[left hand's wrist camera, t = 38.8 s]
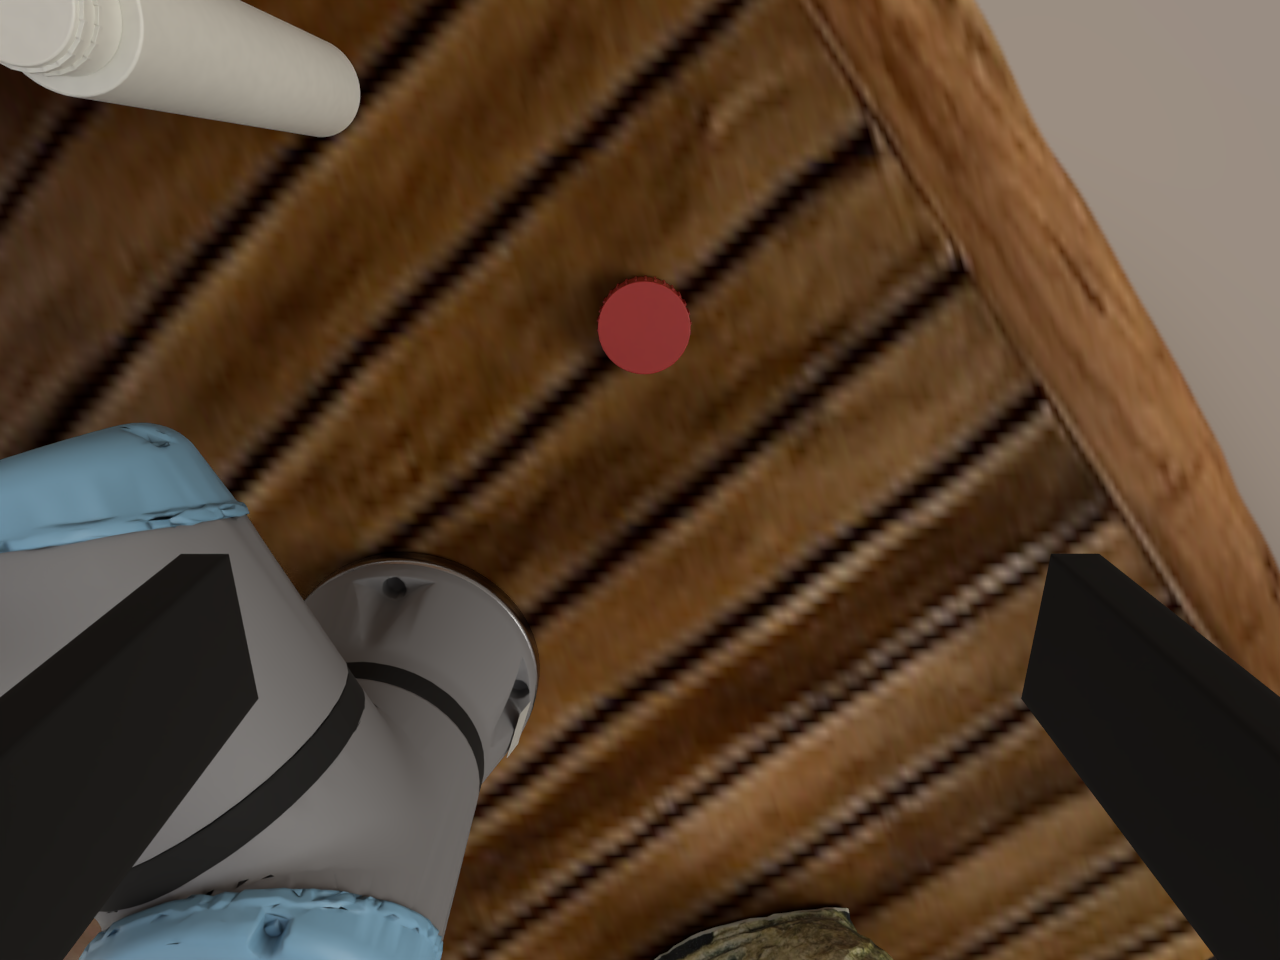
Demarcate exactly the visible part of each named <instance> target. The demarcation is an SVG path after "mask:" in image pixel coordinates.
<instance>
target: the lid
mask: <svg viewBox="0 0 1280 960" xmlns="http://www.w3.org/2000/svg"><path fill="white" fill-rule="evenodd" d="M603 303H604V304H603V306H601V307H600V310H599V312H600V315H599V316H598V319H597V322H598V328H597V332H598V335H599V341H600V343H601V346H602V349H603V350H604V352H605V353H606V355H607V356H608V358H609V359H610V360H611V361H612V362H613V363H615V364H616V365H617V366H619V367H620V368H622V369H624V370H626V371H629V372H632V373H636V374H652V373H656V372H660V371H662V370H664V369H666V368H668V367H670V366H671V365H672V364H674V363H675V362H676V361H677V360H678V359H679V358H680V356H681V355H682V354H683V352H684V350H685V348H686V346H687V344H688V343H689V342H688V341H689V337H690V334H691V331H690V325H691V321H690V318H689V315H690V313H689V310H688V308H687V309H686V302H685V300H682V298H681V295H680V292H679V291H678V292H677V291H676V290H675V289H674V287H673V285H671V286H670V285H669V284H667V283H666V282H665V280H663V281H661V280H659V279H656V277H654V278H652V277H646V275H644V277H637V276H635V278H632V279H629V280H628V279H625V281H624V282H623V283H621V284H619V283H618V284H617V286H616V287H615V288H614V289H613V290H610V292H609V295H608V296H607V298H606V297H605V298H604V301H603Z"/></svg>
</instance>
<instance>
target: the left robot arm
mask: <svg viewBox="0 0 1280 960" xmlns="http://www.w3.org/2000/svg"><path fill="white" fill-rule="evenodd" d="M246 514H249V511H248V508H247V506H246V505H245V504H244V503H243V502H238V501H236V500H235V498H234V497H233V496H232V494H231V493H230V492H229V490H228V489H227V488H226V487H225V485H224V484H223V483H222V481H221V480H220V479H219V477H218V476H217V475H216V474H215V472H214V471H213V470H212V468H211V467H210V466H209V464H208V463H207V462H206V460H205V459H204V458H203V457H202V455H201V454H200V453H199V451H198V450H197V449H196V447H195V446H194V445H193V444H192V443H191V442H190V441H189V440H188V439H187V438H186V437H184V436H183V435H182V434H180V433H179V432H177V431H175V430H173V429H171V428H168V427H165V426H162V425H158V424H152V423H130V424H123V425H118V426H114V427H110V428H106V429H102V430H99V431H95V432H91V433H88V434H84V435H81V436H77V437H74V438H70V439H66V440H63V441H60V442H56V443H53V444H50V445H47V446H43V447H40V448H37V449H33V450H30V451H27V452H24V453H20V454H17V455H14V456H11V457H8V458H4V459H1V460H0V960H63V959H64V957H65V956H66V955H67V953H68V952H69V951H70V949H71V948H72V947H73V945H74V944H75V943H76V941H77V940H78V939H79V937H80V936H81V935H82V933H83V932H84V931H85V929H86V928H87V927H88V925H89V924H90V923H91V921H92V920H93V919H94V918H95V919H96V920H97V921H98V923H99V924H100V926H101V929H102V932H100V933H98V935H97V936H96V937H95V938H94V939H93V940H92V941H91V942H90V943H89V944H88V945H87V947H86V948H85V950H84V952H83V953H82V955H81V956H80V958H79V960H440V959H441V955H442V950H443V938H444V934H445V929H446V925H447V921H448V917H449V913H450V909H451V905H452V901H453V897H454V893H455V889H456V885H457V881H458V877H459V873H460V869H461V865H462V861H463V857H464V853H465V848H466V844H467V840H468V836H469V832H470V828H471V824H472V820H473V816H474V812H475V808H476V804H477V799H478V795H479V792H480V788H481V784H482V783H483V782H484V780H485V779H486V778H487V777H488V776H489V774H490V773H491V772H492V771H493V769H494V768H495V767H496V766H497V764H498V763H499V762H500V761H501V759H502V758H503V757H504V756H505V754H506V753H507V752H508V751H509V752H508V756H509V755H510V753H511V752H512V751H513V749H514V748H515V747H516V746H517V744H518V741H519V738H520V735H521V733H522V731H523V729H524V727H525V725H526V723H527V721H528V719H529V717H530V714H531V712H532V709H533V706H534V702H535V698H536V693H537V688H538V682H539V670H540V664H539V655H538V650H537V645H536V642H535V639H534V636H533V633H532V631H531V629H530V626H529V624H528V623H527V621H526V619H525V617H524V616H523V614H522V613H521V611H520V610H519V608H518V607H517V606H516V604H515V603H514V602H513V601H512V600H511V599H510V598H509V597H508V596H507V595H506V594H505V593H504V592H503V591H502V590H501V589H500V588H499V587H498V586H496V585H495V584H494V583H493V582H491V581H490V580H489V579H487V578H485V577H484V576H482V575H481V574H479V573H478V572H476V571H474V570H472V569H470V568H468V567H466V566H464V565H461V564H459V563H456V562H454V561H451V560H447V559H444V558H441V557H436V556H432V555H426V554H419V553H388V554H380V555H375V556H371V557H367V558H364V559H360V560H357V561H355V562H352V563H350V564H348V565H345V566H344V567H342V568H340V569H338V570H337V571H335V572H333V573H332V574H331V575H329V576H328V577H326V578H325V579H324V580H323V581H322V582H321V583H320V584H319V585H317V587H316V588H315V589H314V590H313V591H312V592H311V593H310V595H309V596H308V597H307V598H306V599H305V601H304V600H303V599H302V597H301V596H300V594H299V593H298V591H297V590H296V588H295V587H294V585H293V584H292V582H291V581H290V580H289V578H288V577H287V575H286V574H285V572H284V571H283V569H282V568H281V566H280V565H279V563H278V562H277V560H276V559H275V557H274V556H273V554H272V553H271V552H270V550H269V549H268V547H267V546H266V544H265V543H264V541H263V540H262V538H261V537H260V535H259V534H258V532H257V531H256V529H255V527H254V526H253V524H252V523H251V521H250V520H249V518H248V517H247V515H246ZM1021 699H1022V700H1023V701H1024V703H1025V704H1026V705H1027V707H1028V708H1029V709H1030V711H1031V712H1032V713H1033V715H1034V716H1035V717H1036V719H1037V720H1038V721H1039V723H1040V724H1041V725H1042V727H1043V728H1044V729H1045V731H1046V732H1047V733H1048V735H1049V736H1050V737H1051V739H1052V740H1053V741H1054V743H1055V744H1056V745H1057V747H1058V748H1059V749H1060V751H1061V752H1062V753H1063V755H1064V756H1065V757H1066V759H1067V760H1068V761H1069V763H1070V764H1071V765H1072V767H1073V768H1074V769H1075V771H1076V772H1077V773H1078V775H1079V776H1080V777H1081V779H1082V780H1083V781H1084V783H1085V784H1086V785H1087V787H1088V788H1089V789H1090V791H1091V792H1092V793H1093V795H1094V796H1095V797H1096V799H1097V800H1098V801H1099V803H1100V804H1101V805H1102V807H1103V808H1104V809H1105V811H1106V812H1107V813H1108V815H1109V816H1110V817H1111V819H1112V820H1113V821H1114V823H1115V824H1116V825H1117V827H1118V828H1119V829H1120V831H1121V832H1122V833H1123V835H1124V836H1125V837H1126V839H1127V840H1128V841H1129V843H1130V844H1131V845H1132V847H1133V848H1134V849H1135V851H1136V852H1137V853H1138V855H1139V856H1140V857H1141V859H1142V860H1143V861H1144V863H1145V864H1146V865H1147V867H1148V868H1149V869H1150V871H1151V872H1152V873H1153V875H1154V876H1155V877H1156V879H1157V880H1158V881H1159V883H1160V884H1161V885H1162V887H1163V888H1164V889H1165V891H1166V892H1167V893H1168V895H1169V896H1170V897H1171V899H1172V900H1173V901H1174V903H1175V904H1176V905H1177V907H1178V908H1179V909H1180V911H1181V912H1182V913H1183V915H1184V916H1185V917H1186V919H1187V920H1188V921H1189V923H1190V924H1191V925H1192V927H1193V928H1194V929H1195V931H1196V932H1197V933H1198V935H1199V936H1200V937H1201V939H1202V940H1203V941H1204V943H1205V944H1206V945H1207V947H1208V948H1209V949H1210V951H1211V952H1212V953H1213V955H1214V956H1215V957H1216V959H1217V960H1280V697H1279V696H1278V695H1277V694H1275V693H1274V692H1273V691H1271V690H1270V689H1269V688H1268V687H1266V686H1265V685H1264V684H1263V683H1261V682H1260V681H1259V680H1258V679H1256V678H1255V677H1254V676H1253V675H1251V674H1250V673H1249V672H1248V671H1246V670H1245V669H1244V668H1242V667H1241V666H1240V665H1239V664H1237V663H1236V662H1235V661H1234V660H1232V659H1231V658H1230V657H1229V656H1227V655H1226V654H1225V653H1224V652H1222V651H1221V650H1220V649H1219V648H1217V647H1216V646H1215V645H1213V644H1212V643H1211V642H1210V641H1208V640H1207V639H1206V638H1205V637H1203V636H1202V635H1201V634H1200V633H1198V632H1197V631H1196V630H1195V629H1193V628H1192V627H1191V626H1190V625H1188V624H1187V623H1186V622H1184V621H1183V620H1182V619H1181V618H1179V617H1178V616H1177V615H1176V614H1174V613H1173V612H1172V611H1171V610H1169V609H1168V608H1167V607H1166V606H1164V605H1163V604H1162V603H1161V602H1159V601H1158V600H1157V599H1155V598H1154V597H1153V596H1152V595H1150V594H1149V593H1148V592H1147V591H1145V590H1144V589H1143V588H1142V587H1140V586H1139V585H1138V584H1137V583H1135V582H1134V581H1133V580H1132V579H1130V578H1129V577H1128V576H1126V575H1125V574H1124V573H1123V572H1121V571H1120V570H1119V569H1118V568H1116V567H1115V566H1114V565H1113V564H1111V563H1110V562H1109V561H1108V560H1106V559H1105V558H1104V557H1102V556H1101V555H1100V554H1051V557H1050V562H1049V567H1048V572H1047V576H1046V581H1045V586H1044V591H1043V596H1042V601H1041V606H1040V611H1039V615H1038V620H1037V625H1036V630H1035V635H1034V640H1033V645H1032V649H1031V654H1030V659H1029V664H1028V669H1027V674H1026V679H1025V684H1024V688H1023V693H1022V698H1021ZM508 756H507V757H508Z"/></svg>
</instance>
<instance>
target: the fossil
mask: <svg viewBox="0 0 1280 960" xmlns="http://www.w3.org/2000/svg"><path fill="white" fill-rule="evenodd" d="M655 960H893V958H892V957H891V956H890V955H889V954H887V953H886V952H885V951H884V950H882V949H881V948H879V947H878V946H876V945H875V944H874V943H873V942H872V941H871V939H869V938H867V937H864V936H862V935H860V934H858V933H857V931H856V929H855V927H854V925H853V924H852V922H851V920H850V915H849V909H848V908H833V907H825V908H820V909H814V910H801V911H793V912H788V913H778V914H773V915H770V916H768V917H762V918H749V919H745V920H741V921H737V922H734V923H730V924H726V925H722V926H718V927H714V928H711V929H708V930H705V931H702V932H699V933H697V934H695V935H693V936H691V937H689V938H687V939H686V940H684V941H682V942H680V943H679V944H677V945H675V946H673V947H672V948H671V949H670V950H669V951H668V952H666V953H663V954H661V955H659V956H658V957H657V958H656V959H655Z"/></svg>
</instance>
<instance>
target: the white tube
mask: <svg viewBox="0 0 1280 960" xmlns="http://www.w3.org/2000/svg"><path fill="white" fill-rule="evenodd" d="M0 64H2V65H4V66H6V67H8V68H10V69H13V70H17V71H22V72H23V73H24V74H25V75H26V76H28V77H29V78H30V79H32V80H33V81H35V82H36V83H38V84H40V85H41V86H43V87H45V88H47V89H49V90H51V91H54V92H56V93H59V94H63V95H66V96H72V97H78V98H84V99H90V100H96V101H102V102H108V103H114V104H120V105H127V106H133V107H139V108H145V109H151V110H157V111H163V112H169V113H175V114H181V115H187V116H194V117H200V118H206V119H212V120H218V121H224V122H230V123H236V124H242V125H248V126H254V127H261V128H267V129H273V130H279V131H285V132H291V133H297V134H303V135H309V136H315V137H328V136H332V135H335V134H337V133H340V132H341V131H343V130H344V129H345V128H346V127H348V126H349V124H350V123H351V122H352V121H353V119H354V117H355V115H356V113H357V111H358V107H359V103H360V86H359V81H358V77H357V74H356V72H355V70H354V68H353V66H352V64H351V62H350V61H349V60H348V58H347V57H346V56H345V55H344V54H343V53H342V52H341V51H340V50H339V49H338V48H337V47H335V46H334V45H332V44H331V43H329V42H327V41H325V40H322V39H320V38H318V37H316V36H314V35H312V34H310V33H308V32H306V31H303V30H301V29H299V28H297V27H295V26H293V25H291V24H289V23H287V22H284V21H282V20H280V19H278V18H276V17H274V16H272V15H270V14H268V13H265V12H263V11H261V10H259V9H257V8H255V7H253V6H251V5H248V4H246V3H244V2H242V1H240V0H0Z"/></svg>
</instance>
